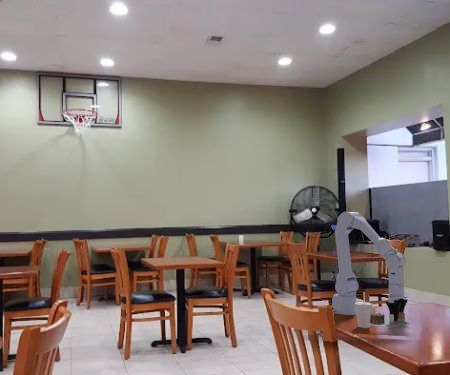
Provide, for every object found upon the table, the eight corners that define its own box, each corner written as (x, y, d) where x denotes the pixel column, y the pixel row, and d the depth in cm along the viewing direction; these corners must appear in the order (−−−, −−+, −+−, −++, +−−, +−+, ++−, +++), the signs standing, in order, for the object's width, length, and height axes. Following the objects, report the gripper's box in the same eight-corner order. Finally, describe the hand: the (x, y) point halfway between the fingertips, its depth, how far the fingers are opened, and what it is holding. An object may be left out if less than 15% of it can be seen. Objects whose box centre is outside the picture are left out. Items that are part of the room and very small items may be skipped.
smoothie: (363, 332, 173) (362, 293, 174) (351, 329, 179) (350, 291, 180) (376, 330, 176) (375, 292, 177) (364, 327, 182) (363, 289, 183)
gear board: (362, 327, 182) (362, 314, 182) (379, 319, 196) (379, 307, 197) (394, 331, 175) (394, 318, 175) (409, 322, 189) (409, 310, 189)
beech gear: (388, 320, 188) (388, 313, 188) (392, 318, 192) (392, 310, 192) (402, 322, 184) (401, 314, 185) (406, 320, 189) (406, 312, 189)
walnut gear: (370, 323, 184) (369, 315, 184) (369, 320, 189) (369, 312, 189) (384, 323, 182) (384, 315, 182) (384, 320, 187) (383, 313, 187)
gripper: (400, 286, 181) (401, 323, 180) (412, 282, 192) (413, 317, 191) (382, 285, 185) (383, 321, 184) (394, 281, 197) (395, 314, 196)
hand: (397, 318), depth 188 cm, fingers closed on beech gear, 5 cm apart
